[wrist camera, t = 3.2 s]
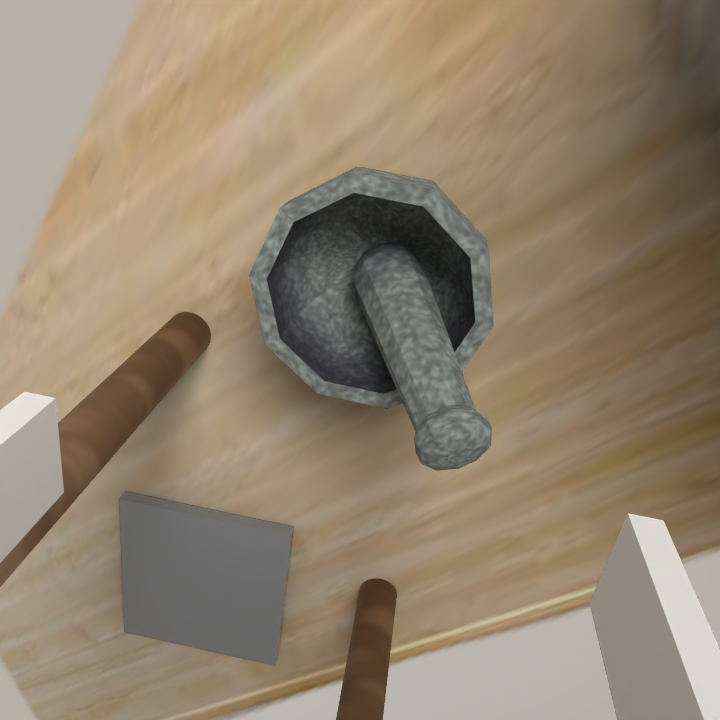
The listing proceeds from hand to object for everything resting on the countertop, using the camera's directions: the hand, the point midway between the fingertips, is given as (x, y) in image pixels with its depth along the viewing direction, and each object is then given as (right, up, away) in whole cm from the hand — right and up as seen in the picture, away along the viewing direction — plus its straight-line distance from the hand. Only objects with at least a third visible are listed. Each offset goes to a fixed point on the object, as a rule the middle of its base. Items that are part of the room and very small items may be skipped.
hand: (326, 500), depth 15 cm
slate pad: (-10, -11, +28) cm, 32 cm away
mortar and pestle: (+3, +8, +17) cm, 19 cm away
